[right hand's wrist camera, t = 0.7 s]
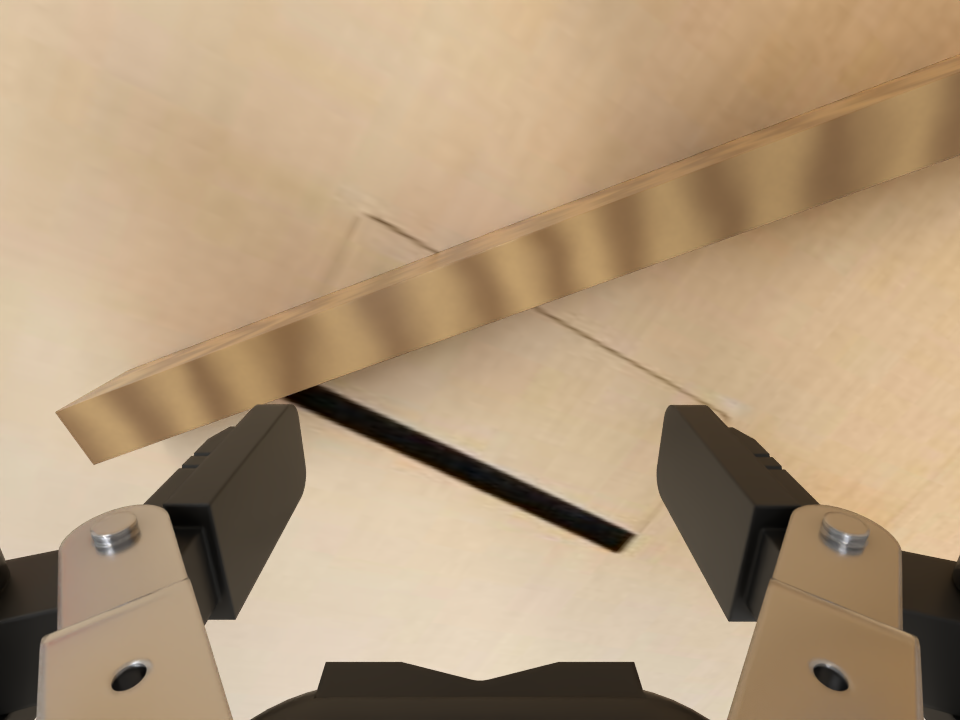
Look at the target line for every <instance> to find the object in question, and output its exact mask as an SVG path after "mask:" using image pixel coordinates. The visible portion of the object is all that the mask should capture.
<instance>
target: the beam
mask: <svg viewBox="0 0 960 720" xmlns="http://www.w3.org/2000/svg"><path fill="white" fill-rule="evenodd" d="M959 155H960V54H959V55H957V56H954V57H951V58H949V59H946V60H944V61H941V62H938V63H936V64H933V65H930V66H928V67H925V68H923V69H920V70H917V71H915V72H912V73H909V74H907V75H904V76H902V77H899V78H896V79H894V80H891V81H888V82H886V83H883V84H880V85H878V86H875V87H873V88H870V89H867V90H865V91H862V92H859V93H857V94H854V95H852V96H849V97H846V98H844V99H841V100H838V101H836V102H833V103H831V104H828V105H825V106H823V107H820V108H817V109H815V110H812V111H809V112H807V113H804V114H802V115H799V116H796V117H794V118H791V119H788V120H786V121H783V122H781V123H778V124H775V125H773V126H770V127H767V128H765V129H762V130H760V131H757V132H754V133H752V134H749V135H746V136H744V137H741V138H738V139H736V140H733V141H731V142H728V143H725V144H723V145H720V146H717V147H715V148H712V149H710V150H707V151H704V152H702V153H699V154H696V155H694V156H691V157H689V158H686V159H683V160H681V161H678V162H675V163H673V164H670V165H668V166H665V167H662V168H660V169H657V170H654V171H652V172H649V173H646V174H644V175H641V176H639V177H636V178H633V179H631V180H628V181H625V182H623V183H620V184H618V185H615V186H612V187H610V188H607V189H604V190H602V191H599V192H597V193H594V194H591V195H589V196H586V197H583V198H581V199H578V200H575V201H573V202H570V203H568V204H565V205H562V206H560V207H557V208H554V209H552V210H549V211H547V212H544V213H541V214H539V215H536V216H533V217H531V218H528V219H526V220H523V221H520V222H518V223H515V224H512V225H510V226H507V227H504V228H502V229H499V230H497V231H494V232H491V233H489V234H486V235H483V236H481V237H478V238H476V239H473V240H470V241H468V242H465V243H462V244H460V245H457V246H455V247H452V248H449V249H447V250H444V251H441V252H439V253H436V254H433V255H431V256H428V257H426V258H423V259H420V260H418V261H415V262H412V263H410V264H407V265H405V266H402V267H399V268H397V269H394V270H391V271H389V272H386V273H384V274H381V275H378V276H376V277H373V278H370V279H368V280H365V281H362V282H360V283H357V284H355V285H352V286H349V287H347V288H344V289H341V290H339V291H336V292H334V293H331V294H328V295H326V296H323V297H320V298H318V299H315V300H313V301H310V302H307V303H305V304H302V305H299V306H297V307H294V308H291V309H289V310H286V311H284V312H281V313H278V314H276V315H273V316H270V317H268V318H265V319H263V320H260V321H257V322H255V323H252V324H249V325H247V326H244V327H242V328H239V329H236V330H234V331H231V332H228V333H226V334H223V335H220V336H218V337H215V338H213V339H210V340H207V341H205V342H202V343H199V344H197V345H194V346H192V347H189V348H186V349H184V350H181V351H178V352H176V353H173V354H171V355H168V356H165V357H163V358H160V359H157V360H155V361H152V362H150V363H147V364H144V365H142V366H139V367H136V368H134V369H131V370H128V371H126V372H125V373H123V374H121V375H119V376H118V377H116V378H114V379H112V380H111V381H109V382H107V383H105V384H104V385H102V386H100V387H98V388H97V389H95V390H93V391H91V392H90V393H88V394H86V395H84V396H83V397H81V398H79V399H77V400H76V401H74V402H72V403H70V404H69V405H67V406H65V407H63V408H62V409H60V410H58V411H56V414H57V415H58V417H59V418H60V420H61V421H62V422H63V424H64V425H65V426H66V428H67V429H68V430H69V432H70V433H71V435H72V436H73V437H74V439H75V440H76V441H77V443H78V444H79V445H80V447H81V448H82V450H83V451H84V452H85V454H86V455H87V456H88V458H89V459H90V461H91V462H92V463H93V464H94V465H95V464H98V463H100V462H103V461H106V460H109V459H112V458H114V457H117V456H120V455H123V454H126V453H128V452H131V451H134V450H137V449H140V448H142V447H145V446H148V445H151V444H154V443H156V442H159V441H162V440H165V439H168V438H170V437H173V436H176V435H179V434H182V433H184V432H187V431H190V430H193V429H195V428H198V427H201V426H204V425H207V424H209V423H212V422H215V421H218V420H221V419H223V418H226V417H229V416H232V415H235V414H237V413H240V412H243V411H246V410H249V409H251V408H253V407H254V406H255V405H257V404H265V403H268V402H271V401H274V400H277V399H279V398H282V397H285V396H288V395H291V394H293V393H296V392H299V391H302V390H305V389H307V388H310V387H313V386H316V385H318V384H321V383H324V382H327V381H330V380H332V379H335V378H338V377H341V376H344V375H346V374H349V373H352V372H355V371H358V370H360V369H363V368H366V367H369V366H372V365H374V364H377V363H380V362H383V361H386V360H388V359H391V358H394V357H397V356H400V355H402V354H405V353H408V352H411V351H414V350H416V349H419V348H422V347H425V346H428V345H430V344H433V343H436V342H439V341H441V340H444V339H447V338H450V337H453V336H455V335H458V334H461V333H464V332H467V331H469V330H472V329H475V328H478V327H481V326H483V325H486V324H489V323H492V322H495V321H497V320H500V319H503V318H506V317H509V316H511V315H514V314H517V313H520V312H523V311H525V310H528V309H531V308H534V307H537V306H539V305H542V304H545V303H548V302H551V301H553V300H556V299H559V298H562V297H564V296H567V295H570V294H573V293H576V292H578V291H581V290H584V289H587V288H590V287H592V286H595V285H598V284H601V283H604V282H606V281H609V280H612V279H615V278H618V277H620V276H623V275H626V274H629V273H632V272H634V271H637V270H640V269H643V268H646V267H648V266H651V265H654V264H657V263H660V262H662V261H665V260H668V259H671V258H674V257H676V256H679V255H682V254H685V253H687V252H690V251H693V250H696V249H699V248H701V247H704V246H707V245H710V244H713V243H715V242H718V241H721V240H724V239H727V238H729V237H732V236H735V235H738V234H741V233H743V232H746V231H749V230H752V229H755V228H757V227H760V226H763V225H766V224H769V223H771V222H774V221H777V220H780V219H783V218H785V217H788V216H791V215H794V214H797V213H799V212H802V211H805V210H808V209H810V208H813V207H816V206H819V205H822V204H824V203H827V202H830V201H833V200H836V199H838V198H841V197H844V196H847V195H850V194H852V193H855V192H858V191H861V190H864V189H866V188H869V187H872V186H875V185H878V184H880V183H883V182H886V181H889V180H892V179H894V178H897V177H900V176H903V175H906V174H908V173H911V172H914V171H917V170H919V169H922V168H925V167H928V166H931V165H933V164H936V163H939V162H942V161H945V160H947V159H950V158H953V157H956V156H959Z"/></svg>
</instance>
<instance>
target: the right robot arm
mask: <svg viewBox="0 0 960 720" xmlns="http://www.w3.org/2000/svg"><path fill="white" fill-rule="evenodd" d="M305 481H306V466H305V459H304V451H303V444H302V437H301V430H300V423H299V416H298V412H297V409H296V407H295V406H294V405H292V404H257V405H255V406H254V407H253V408H252V409H251V410H250V411H249V413H248V414H247V415H246V416H245V417H244V418H243V419H242V420H241V421H240V422H239V423H238V424H237V425H236V426H235V427H229V428H227V429H225V430H223V431H222V432H220V433H218V434H216V435H214V436H213V437H211V438H209V439H208V440H207V441H206V442H205V443H204V444H203V445H202V446H201V447H200V448H199V449H198V450H197V451H196V452H195V453H194V456H191V457H190V458H189V459H188V460H187V461H186V462H185V463H184V464H183V465H182V468H179V469H178V470H177V471H176V472H175V473H174V474H173V475H172V476H171V477H170V478H169V479H168V480H167V481H166V482H165V483H164V484H163V485H162V486H161V487H160V488H159V489H158V490H157V491H156V492H155V493H154V494H153V495H152V496H151V497H150V498H149V499H148V500H147V501H146V502H145V503H144V504H143V505H132V506H127V507H122V508H118V509H115V510H112V511H109V512H106V513H103V514H101V515H99V516H96V517H94V518H92V519H90V520H89V521H87V522H85V523H83V524H82V525H80V526H79V527H77V528H76V529H75V530H73V531H72V532H71V533H70V534H69V535H68V536H67V537H66V538H65V539H64V541H63V542H62V543H61V545H60V547H59V550H56V551H51V552H46V553H41V554H36V555H31V556H26V557H21V558H16V559H11V560H6V561H5V559H4V556H3V554H2V551H1V549H0V720H34V719H35V718H36V720H233V718H232V715H231V712H230V708H229V705H228V702H227V698H226V695H225V692H224V689H223V685H222V682H221V679H220V676H219V672H218V669H217V666H216V663H215V659H214V656H213V653H212V649H211V646H210V643H209V640H208V636H207V633H206V630H205V627H204V625H205V624H206V622H207V620H235V619H236V618H237V616H238V614H239V612H240V610H241V608H242V606H243V605H244V603H245V601H246V599H247V597H248V595H249V593H250V592H251V590H252V588H253V586H254V584H255V582H256V580H257V579H258V577H259V575H260V573H261V571H262V569H263V567H264V566H265V564H266V562H267V560H268V558H269V556H270V554H271V553H272V551H273V549H274V547H275V545H276V543H277V541H278V540H279V538H280V536H281V534H282V532H283V530H284V528H285V527H286V525H287V523H288V521H289V519H290V517H291V515H292V514H293V512H294V510H295V508H296V506H297V504H298V502H299V501H300V499H301V497H302V494H303V491H304V487H305ZM657 484H658V490H659V493H660V496H661V498H662V500H663V502H664V504H665V506H666V508H667V509H668V511H669V513H670V515H671V517H672V519H673V520H674V522H675V524H676V526H677V528H678V530H679V531H680V533H681V535H682V537H683V539H684V541H685V542H686V544H687V546H688V548H689V550H690V552H691V553H692V555H693V557H694V559H695V561H696V563H697V564H698V566H699V568H700V570H701V572H702V574H703V575H704V577H705V579H706V581H707V583H708V585H709V586H710V588H711V590H712V592H713V594H714V596H715V597H716V599H717V601H718V603H719V605H720V607H721V608H722V610H723V612H724V614H725V616H726V618H727V619H728V621H729V622H757V623H756V627H755V630H754V633H753V636H752V640H751V643H750V646H749V649H748V653H747V656H746V659H745V663H744V666H743V669H742V672H741V676H740V679H739V682H738V685H737V689H736V692H735V695H734V698H733V702H732V705H731V708H730V712H729V715H728V718H727V720H924V718H925V719H926V720H960V556H959V558H958V561H957V562H955V561H950V560H945V559H940V558H935V557H930V556H925V555H920V554H915V553H910V552H905V551H901V547H900V545H899V543H898V542H897V541H896V539H895V538H894V537H893V536H892V535H891V534H890V533H889V532H888V531H887V530H885V529H884V528H883V527H881V526H880V525H878V524H877V523H875V522H873V521H871V520H870V519H868V518H866V517H864V516H861V515H859V514H857V513H854V512H851V511H848V510H845V509H842V508H838V507H833V506H828V505H820V504H819V503H818V502H817V501H816V500H815V499H814V498H813V497H812V496H811V495H810V494H809V493H808V492H807V491H806V490H805V489H804V488H803V487H802V486H801V485H800V484H799V483H798V482H797V481H796V480H795V479H794V478H793V477H792V476H791V475H790V474H789V473H788V472H787V471H786V470H782V466H781V465H780V464H779V463H778V462H777V461H776V460H775V459H774V458H773V457H770V456H769V453H768V452H767V451H766V450H765V449H764V448H763V447H762V446H761V445H760V444H759V443H758V442H757V441H756V440H754V439H753V438H751V437H749V436H747V435H745V434H744V433H742V432H740V431H738V430H736V429H735V428H733V427H727V426H726V425H725V424H724V423H723V422H722V421H721V419H720V418H719V417H718V416H717V415H716V414H715V413H714V412H713V411H712V410H711V409H710V408H709V407H708V406H706V405H670V406H669V407H668V408H667V409H666V412H665V416H664V422H663V429H662V436H661V443H660V450H659V457H658V464H657ZM251 720H709V719H708V718H706V717H704V716H703V715H701V714H699V713H698V712H696V711H694V710H693V709H691V708H689V707H686V706H684V705H682V704H680V703H678V702H676V701H674V700H672V699H669V698H666V697H663V696H661V695H658V694H655V693H652V692H649V691H645V690H643V689H642V686H641V683H640V679H639V676H638V673H637V670H636V667H635V663H634V662H557V663H553V664H549V665H545V666H541V667H537V668H533V669H529V670H525V671H521V672H517V673H513V674H509V675H505V676H501V677H497V678H493V679H489V680H484V681H476V680H471V679H467V678H463V677H459V676H455V675H451V674H447V673H443V672H439V671H435V670H431V669H427V668H423V667H419V666H415V665H411V664H407V663H403V662H326V663H325V667H324V670H323V673H322V676H321V679H320V683H319V686H318V689H317V690H315V691H311V692H308V693H305V694H302V695H299V696H297V697H294V698H291V699H288V700H286V701H284V702H282V703H280V704H278V705H276V706H274V707H271V708H269V709H267V710H266V711H264V712H262V713H261V714H259V715H257V716H256V717H254V718H252V719H251Z"/></svg>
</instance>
